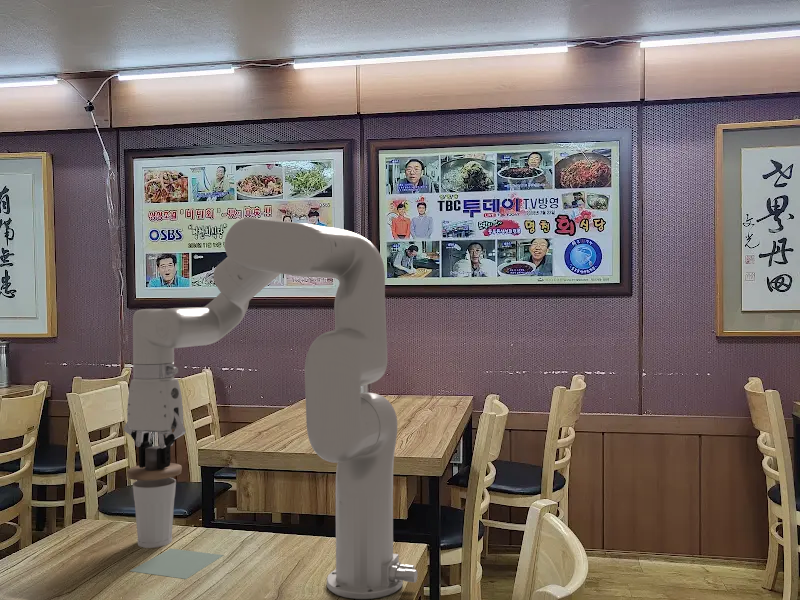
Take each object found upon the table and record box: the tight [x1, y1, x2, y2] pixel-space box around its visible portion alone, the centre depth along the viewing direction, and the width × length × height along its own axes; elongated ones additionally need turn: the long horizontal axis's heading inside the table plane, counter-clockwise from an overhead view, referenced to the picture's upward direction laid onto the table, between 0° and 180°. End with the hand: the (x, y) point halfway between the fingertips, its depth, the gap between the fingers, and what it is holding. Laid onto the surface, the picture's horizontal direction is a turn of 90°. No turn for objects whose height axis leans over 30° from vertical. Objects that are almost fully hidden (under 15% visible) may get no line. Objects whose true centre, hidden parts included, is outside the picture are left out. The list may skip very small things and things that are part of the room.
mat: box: [129, 548, 224, 580], centre depth 126 cm, size 12×12×1 cm
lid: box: [126, 445, 183, 481], centre depth 137 cm, size 10×10×5 cm
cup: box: [132, 477, 177, 549], centre depth 137 cm, size 8×8×12 cm
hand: (154, 465), depth 137 cm, fingers closed on lid, 3 cm apart
